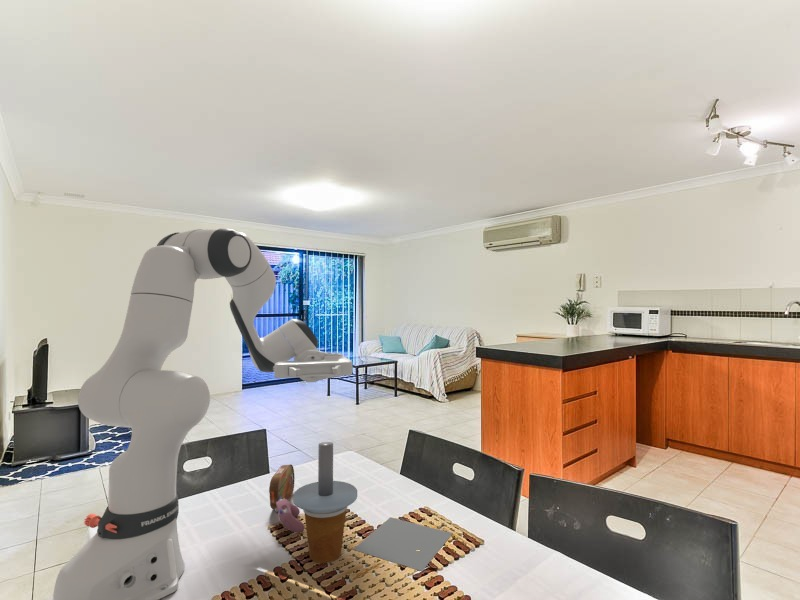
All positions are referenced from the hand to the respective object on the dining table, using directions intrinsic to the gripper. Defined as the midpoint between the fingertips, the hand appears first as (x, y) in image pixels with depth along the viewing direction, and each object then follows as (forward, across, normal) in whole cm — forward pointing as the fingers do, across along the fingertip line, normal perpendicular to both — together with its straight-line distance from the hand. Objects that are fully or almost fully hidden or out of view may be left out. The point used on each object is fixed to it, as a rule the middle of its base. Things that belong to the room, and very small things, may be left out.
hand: (316, 372), depth 108 cm
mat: (+19, +17, +35) cm, 43 cm away
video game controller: (+4, -6, +35) cm, 36 cm away
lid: (+19, 0, +23) cm, 30 cm away
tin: (-10, -8, +35) cm, 38 cm away
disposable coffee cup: (+19, 0, +35) cm, 40 cm away
